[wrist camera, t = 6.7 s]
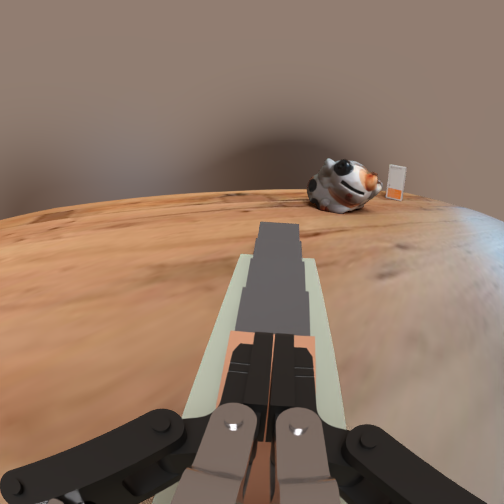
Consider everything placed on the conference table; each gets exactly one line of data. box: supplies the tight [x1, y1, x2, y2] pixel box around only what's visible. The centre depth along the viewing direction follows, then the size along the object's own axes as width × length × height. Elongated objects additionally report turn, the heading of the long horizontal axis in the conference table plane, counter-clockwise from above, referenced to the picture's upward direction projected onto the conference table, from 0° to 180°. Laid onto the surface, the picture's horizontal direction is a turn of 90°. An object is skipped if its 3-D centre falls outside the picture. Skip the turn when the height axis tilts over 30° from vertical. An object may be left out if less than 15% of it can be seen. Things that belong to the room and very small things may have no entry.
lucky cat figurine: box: [307, 158, 383, 214], centre depth 66 cm, size 17×14×16 cm
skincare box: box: [386, 164, 406, 201], centre depth 88 cm, size 6×4×12 cm
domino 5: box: [216, 330, 316, 504], centre depth 13 cm, size 2×5×10 cm
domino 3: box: [246, 258, 306, 291], centre depth 23 cm, size 2×5×10 cm
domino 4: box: [235, 287, 310, 336], centre depth 18 cm, size 2×5×10 cm
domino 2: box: [253, 238, 302, 261], centre depth 28 cm, size 2×5×10 cm
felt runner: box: [152, 254, 348, 504], centre depth 21 cm, size 38×10×1 cm, turn 174°
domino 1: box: [258, 222, 299, 241], centre depth 34 cm, size 2×5×10 cm
